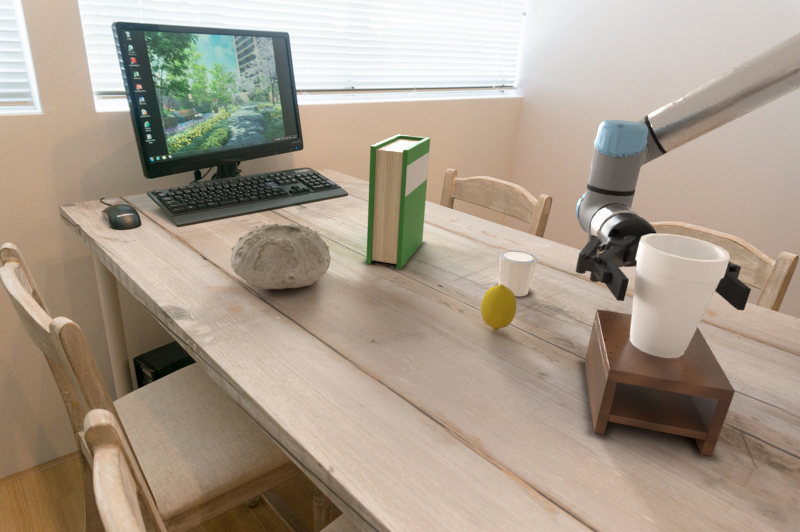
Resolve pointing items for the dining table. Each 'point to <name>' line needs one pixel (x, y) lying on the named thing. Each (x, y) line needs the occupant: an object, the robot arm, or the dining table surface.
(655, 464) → the dining table surface
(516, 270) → the white jar candle
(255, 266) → the decorative shell
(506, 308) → the lemon
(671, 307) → the foam cup
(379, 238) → the hardback book
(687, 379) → the shelf
